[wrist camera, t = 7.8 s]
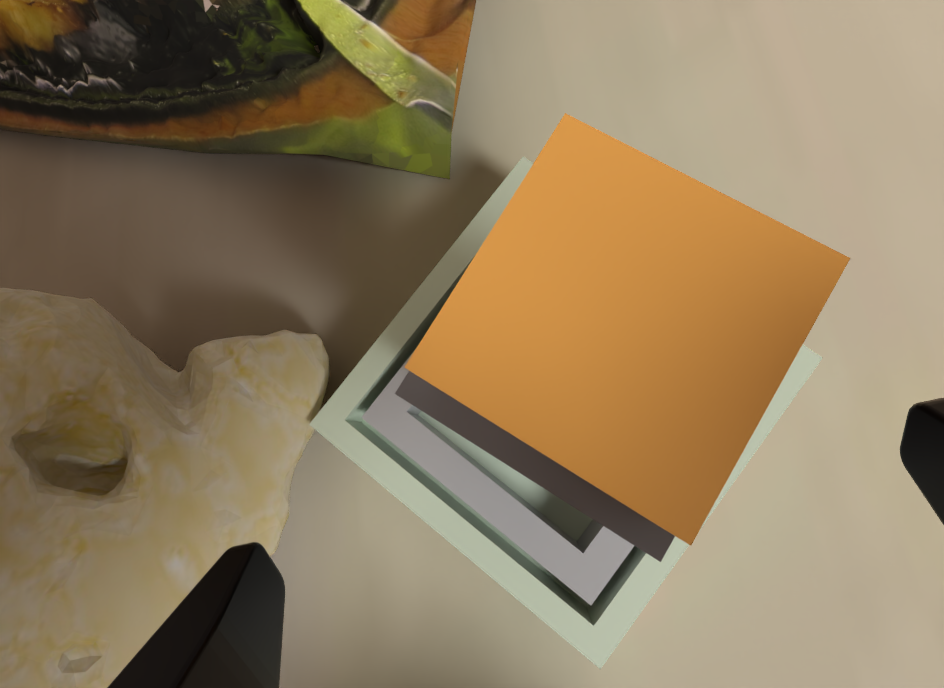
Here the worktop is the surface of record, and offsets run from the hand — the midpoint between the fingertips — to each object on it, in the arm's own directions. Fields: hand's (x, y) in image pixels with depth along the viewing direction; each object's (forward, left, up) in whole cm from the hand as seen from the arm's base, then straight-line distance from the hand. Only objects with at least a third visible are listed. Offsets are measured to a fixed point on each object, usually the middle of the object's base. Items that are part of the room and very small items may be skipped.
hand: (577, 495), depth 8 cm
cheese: (+7, +10, -12) cm, 17 cm away
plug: (+1, -2, -11) cm, 11 cm away
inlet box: (+1, -2, -12) cm, 12 cm away
